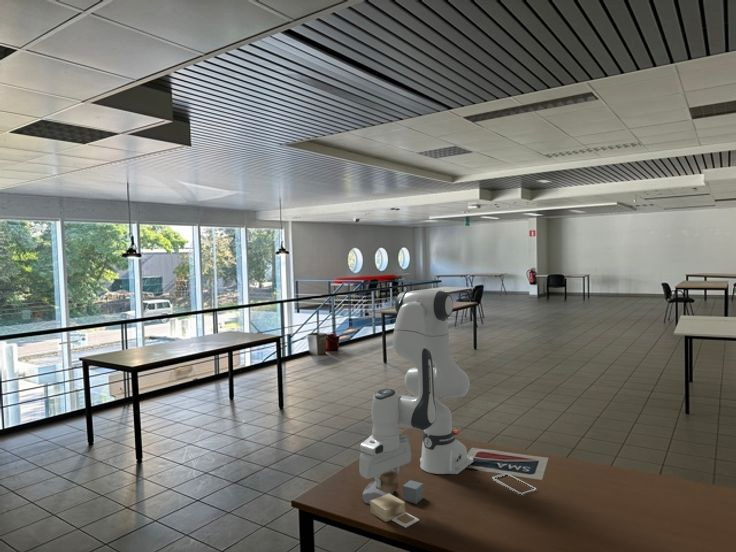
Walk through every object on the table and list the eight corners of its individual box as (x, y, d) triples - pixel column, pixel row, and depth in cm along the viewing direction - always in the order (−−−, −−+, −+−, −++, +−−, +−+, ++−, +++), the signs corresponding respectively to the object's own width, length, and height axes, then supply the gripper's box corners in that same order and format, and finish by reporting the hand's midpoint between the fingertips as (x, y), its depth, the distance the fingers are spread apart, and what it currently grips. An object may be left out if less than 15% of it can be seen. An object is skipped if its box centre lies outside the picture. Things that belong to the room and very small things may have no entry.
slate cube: (410, 494, 170) (410, 480, 170) (423, 497, 167) (423, 483, 167) (403, 500, 166) (403, 485, 165) (416, 504, 163) (416, 489, 163)
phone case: (491, 480, 179) (521, 497, 166) (491, 476, 179) (521, 493, 166) (506, 476, 183) (537, 492, 169) (506, 472, 183) (537, 488, 169)
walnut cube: (387, 483, 161) (387, 468, 161) (398, 488, 158) (397, 473, 158) (376, 488, 158) (375, 473, 158) (386, 493, 154) (386, 477, 154)
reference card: (405, 513, 157) (405, 511, 157) (419, 520, 152) (419, 518, 152) (392, 520, 153) (391, 518, 153) (405, 527, 148) (405, 525, 148)
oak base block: (389, 505, 163) (389, 493, 163) (405, 514, 157) (404, 502, 156) (370, 512, 158) (370, 500, 158) (385, 522, 152) (385, 510, 152)
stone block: (361, 509, 164) (390, 505, 162) (358, 494, 164) (386, 491, 162) (370, 494, 176) (397, 490, 173) (367, 480, 176) (394, 477, 173)
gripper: (401, 431, 167) (402, 471, 167) (355, 446, 153) (356, 490, 154) (415, 435, 162) (416, 476, 162) (368, 451, 149) (370, 496, 149)
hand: (386, 483), depth 158 cm, fingers closed on walnut cube, 5 cm apart
